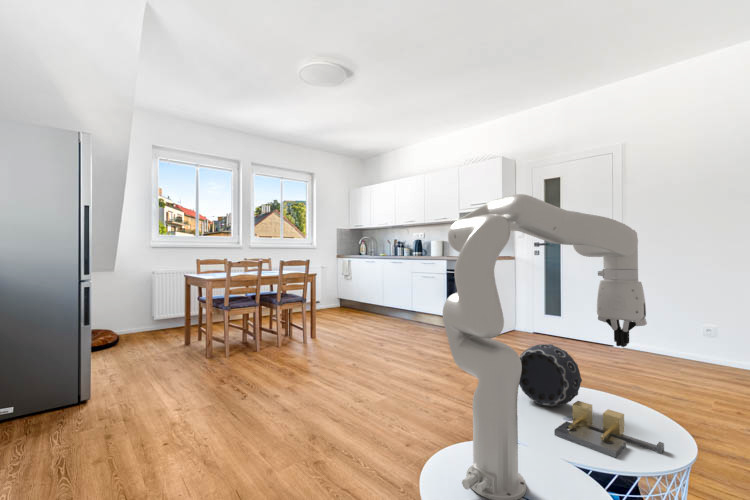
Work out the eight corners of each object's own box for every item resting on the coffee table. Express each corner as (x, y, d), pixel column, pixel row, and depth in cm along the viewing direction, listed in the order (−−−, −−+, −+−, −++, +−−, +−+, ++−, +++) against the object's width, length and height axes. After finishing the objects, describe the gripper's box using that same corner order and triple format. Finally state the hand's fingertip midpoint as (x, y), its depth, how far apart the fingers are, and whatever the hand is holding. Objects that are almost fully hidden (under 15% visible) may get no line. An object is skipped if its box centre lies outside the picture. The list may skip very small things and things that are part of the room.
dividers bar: (653, 465, 86) (653, 439, 86) (562, 432, 102) (562, 410, 102) (664, 449, 93) (664, 425, 93) (578, 421, 109) (577, 400, 109)
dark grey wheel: (528, 391, 133) (527, 337, 134) (585, 409, 117) (584, 348, 118) (512, 398, 127) (511, 342, 127) (570, 418, 111) (569, 354, 111)
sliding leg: (610, 445, 93) (610, 426, 93) (593, 439, 96) (593, 420, 96) (624, 431, 100) (624, 413, 100) (608, 426, 103) (607, 409, 103)
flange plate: (615, 457, 89) (615, 451, 89) (554, 435, 101) (554, 429, 101) (626, 446, 94) (625, 440, 95) (566, 426, 106) (566, 421, 106)
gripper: (584, 275, 97) (585, 342, 97) (651, 277, 86) (653, 354, 86) (594, 274, 102) (595, 338, 102) (659, 276, 91) (661, 348, 90)
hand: (621, 345), depth 94 cm, fingers closed
